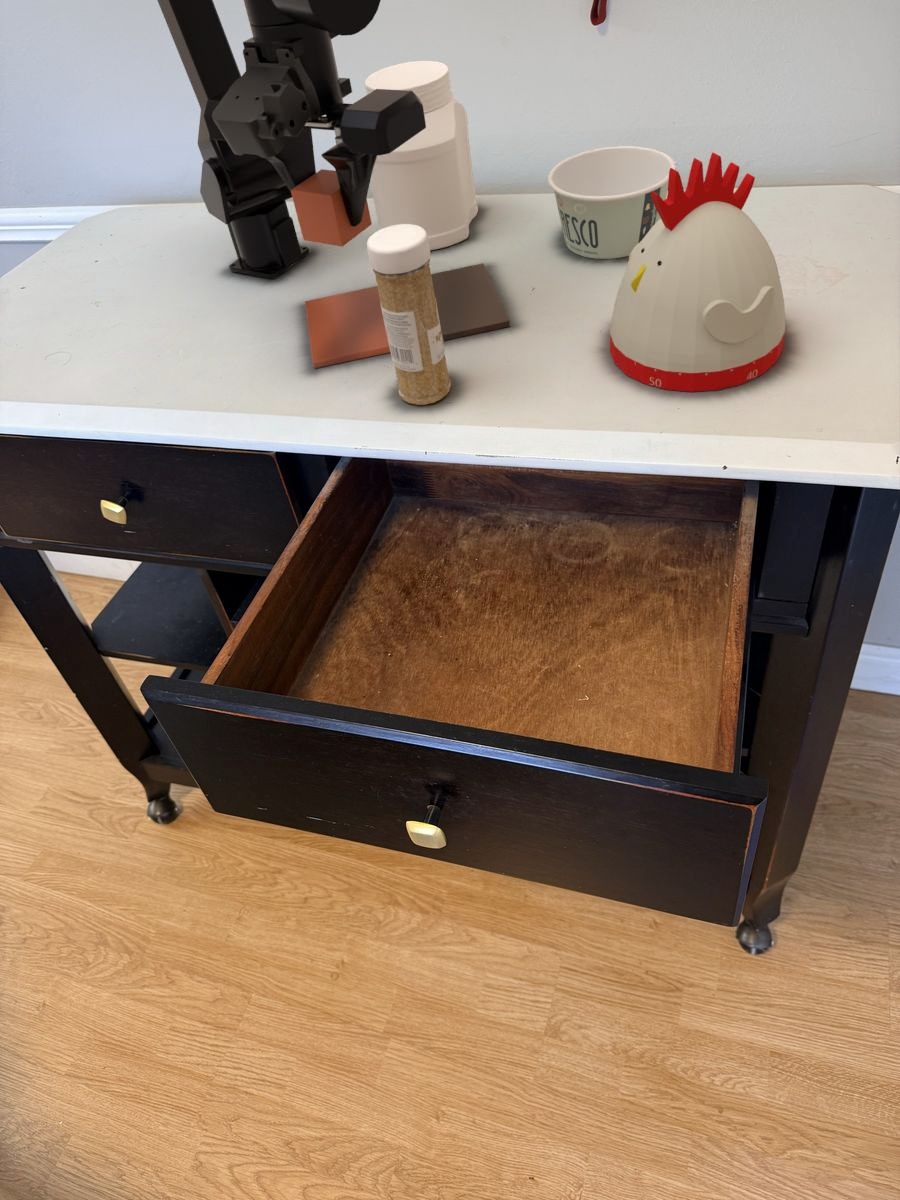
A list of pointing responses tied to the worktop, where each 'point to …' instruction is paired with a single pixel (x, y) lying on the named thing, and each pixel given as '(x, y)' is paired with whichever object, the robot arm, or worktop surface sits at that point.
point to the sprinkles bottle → (410, 311)
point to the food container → (609, 198)
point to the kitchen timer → (700, 290)
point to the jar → (426, 159)
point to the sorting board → (358, 323)
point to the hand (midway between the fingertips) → (334, 221)
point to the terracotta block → (325, 210)
